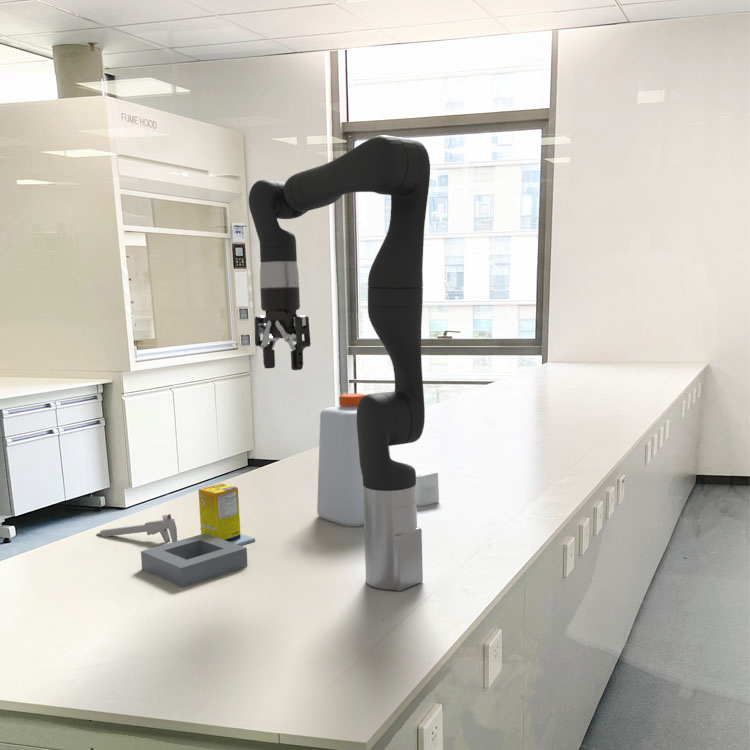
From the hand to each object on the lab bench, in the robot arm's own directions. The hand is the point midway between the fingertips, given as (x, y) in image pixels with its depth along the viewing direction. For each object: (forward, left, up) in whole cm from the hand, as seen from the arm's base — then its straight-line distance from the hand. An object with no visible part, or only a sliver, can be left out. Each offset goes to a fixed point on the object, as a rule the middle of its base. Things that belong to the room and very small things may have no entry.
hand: (283, 369), depth 149 cm
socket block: (+5, +19, -36) cm, 41 cm away
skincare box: (+2, -43, -36) cm, 56 cm away
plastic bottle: (+6, -24, -36) cm, 44 cm away
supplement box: (+14, +7, -36) cm, 39 cm away
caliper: (+30, +17, -37) cm, 51 cm away
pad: (+14, +7, -36) cm, 39 cm away
